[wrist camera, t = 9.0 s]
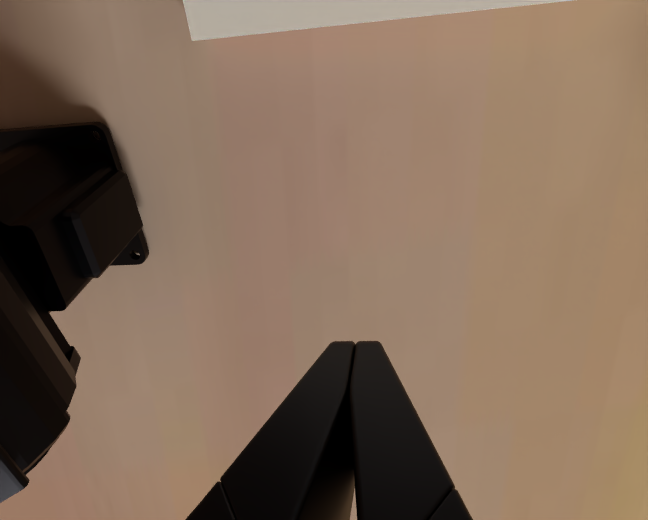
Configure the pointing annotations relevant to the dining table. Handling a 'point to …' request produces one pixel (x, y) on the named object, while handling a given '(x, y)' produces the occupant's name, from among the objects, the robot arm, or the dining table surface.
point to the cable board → (317, 13)
